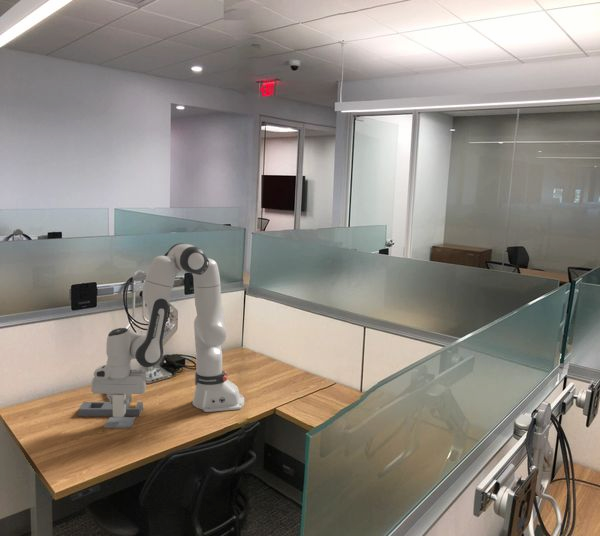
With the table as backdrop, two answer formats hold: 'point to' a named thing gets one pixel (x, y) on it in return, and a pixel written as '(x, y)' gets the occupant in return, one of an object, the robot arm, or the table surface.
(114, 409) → the charger
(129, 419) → the mat
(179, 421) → the table surface
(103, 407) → the power strip
